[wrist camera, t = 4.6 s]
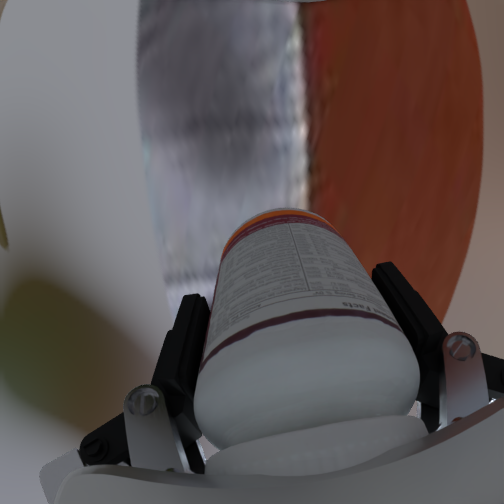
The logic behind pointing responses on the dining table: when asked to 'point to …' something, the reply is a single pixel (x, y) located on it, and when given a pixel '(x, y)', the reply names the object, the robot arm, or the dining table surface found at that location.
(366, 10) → the dining table surface
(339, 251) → the pill bottle
